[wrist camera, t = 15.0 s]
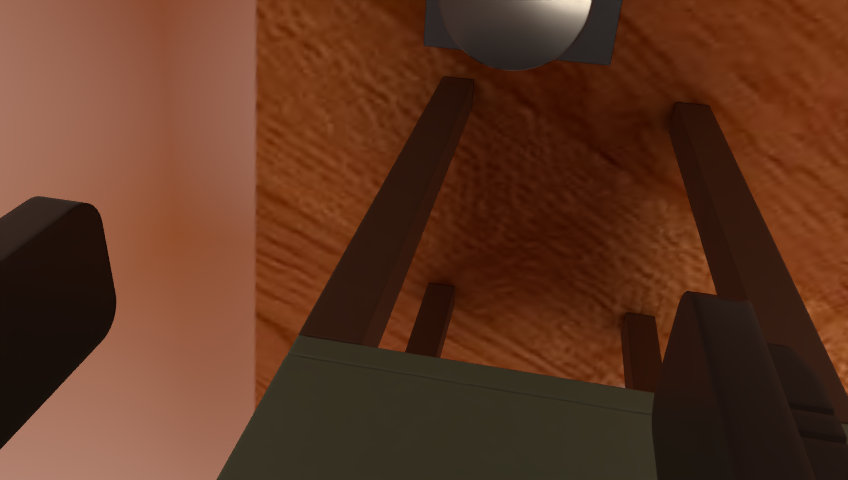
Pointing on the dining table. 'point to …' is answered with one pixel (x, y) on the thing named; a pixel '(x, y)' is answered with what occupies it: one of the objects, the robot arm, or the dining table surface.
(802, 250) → the dining table surface
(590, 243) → the dining table surface
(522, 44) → the jar
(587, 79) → the dining table surface
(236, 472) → the cabinet
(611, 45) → the coaster
